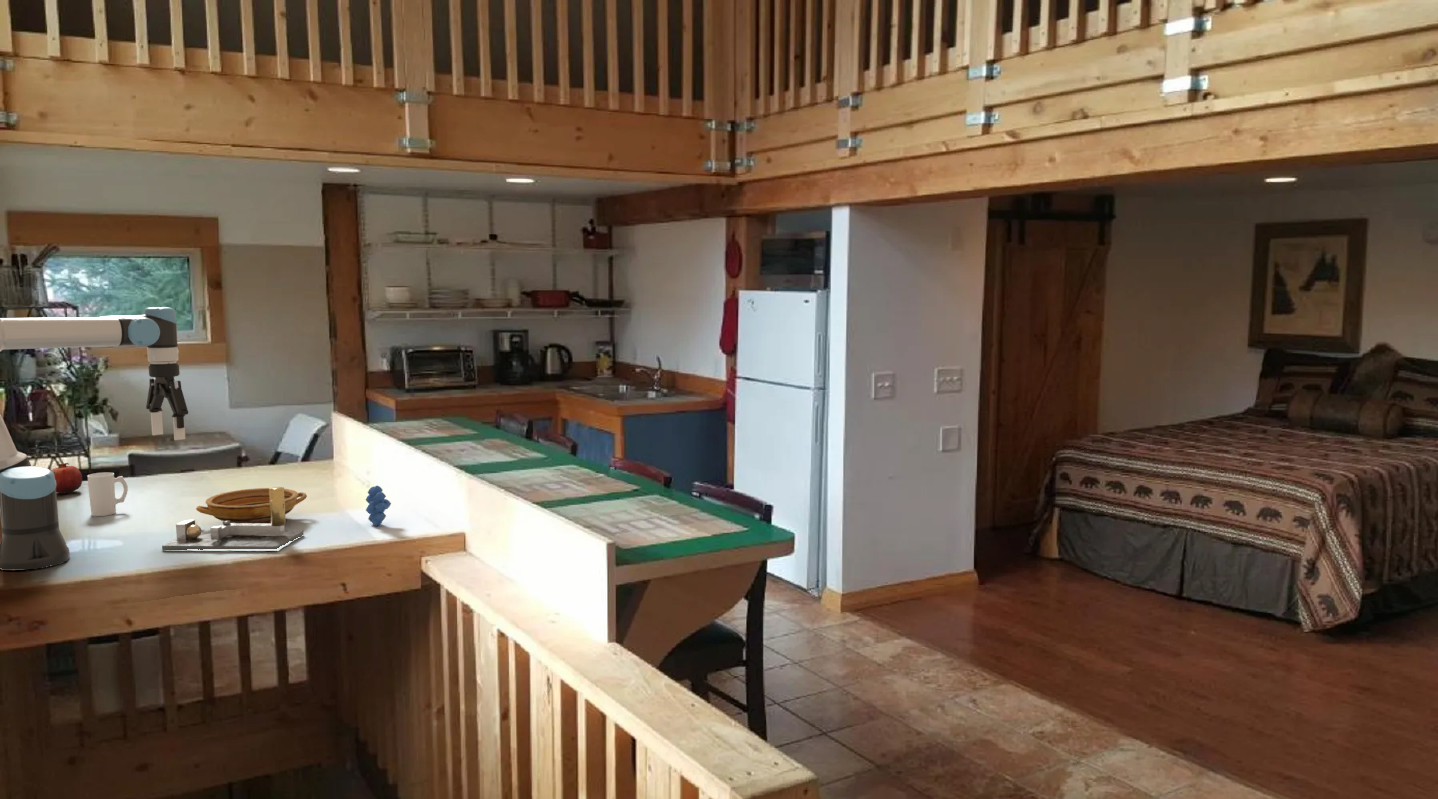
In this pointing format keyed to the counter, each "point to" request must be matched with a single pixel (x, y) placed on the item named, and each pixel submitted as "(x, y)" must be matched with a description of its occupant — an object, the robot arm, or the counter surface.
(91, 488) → the mug
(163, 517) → the counter surface
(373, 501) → the grapes
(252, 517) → the ceramic bowl
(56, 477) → the fruit
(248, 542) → the base
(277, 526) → the lever
